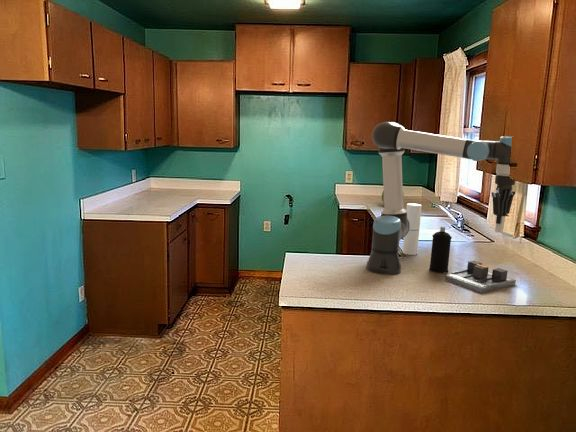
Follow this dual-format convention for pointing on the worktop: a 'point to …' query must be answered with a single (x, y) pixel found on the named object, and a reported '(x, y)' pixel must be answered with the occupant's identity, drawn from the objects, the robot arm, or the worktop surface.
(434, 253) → the aerosol can
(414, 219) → the cylindrical container
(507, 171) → the robot arm
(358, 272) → the worktop surface
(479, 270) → the breaker handle
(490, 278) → the panel
